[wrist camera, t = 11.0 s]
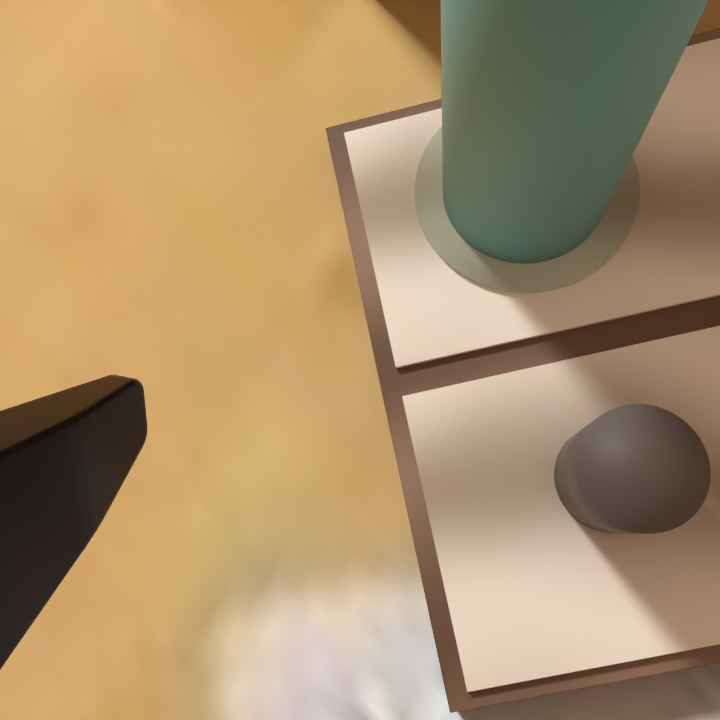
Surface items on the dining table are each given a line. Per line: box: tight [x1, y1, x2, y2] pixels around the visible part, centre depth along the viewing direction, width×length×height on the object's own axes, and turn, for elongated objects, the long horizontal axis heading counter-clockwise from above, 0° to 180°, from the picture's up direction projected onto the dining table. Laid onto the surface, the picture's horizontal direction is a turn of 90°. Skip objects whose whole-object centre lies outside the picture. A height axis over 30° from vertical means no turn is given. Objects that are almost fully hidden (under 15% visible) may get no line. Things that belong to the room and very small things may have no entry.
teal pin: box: [441, 0, 709, 264], centre depth 13 cm, size 4×4×12 cm
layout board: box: [326, 29, 720, 713], centre depth 17 cm, size 16×13×4 cm
